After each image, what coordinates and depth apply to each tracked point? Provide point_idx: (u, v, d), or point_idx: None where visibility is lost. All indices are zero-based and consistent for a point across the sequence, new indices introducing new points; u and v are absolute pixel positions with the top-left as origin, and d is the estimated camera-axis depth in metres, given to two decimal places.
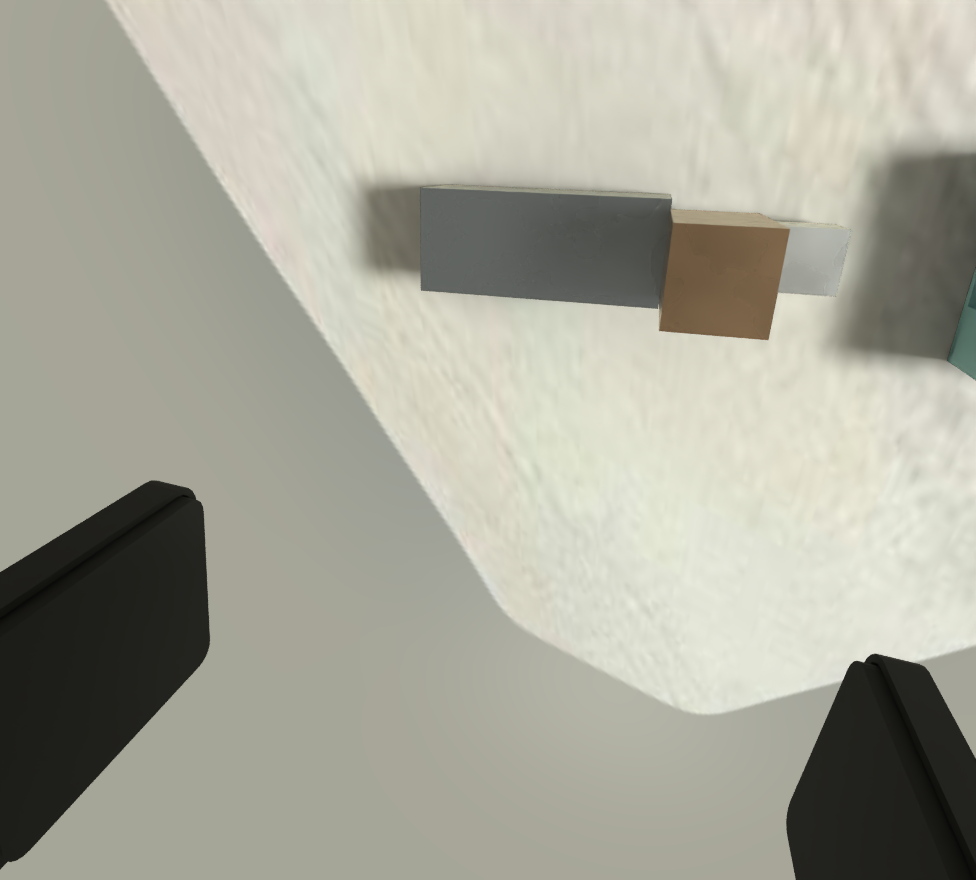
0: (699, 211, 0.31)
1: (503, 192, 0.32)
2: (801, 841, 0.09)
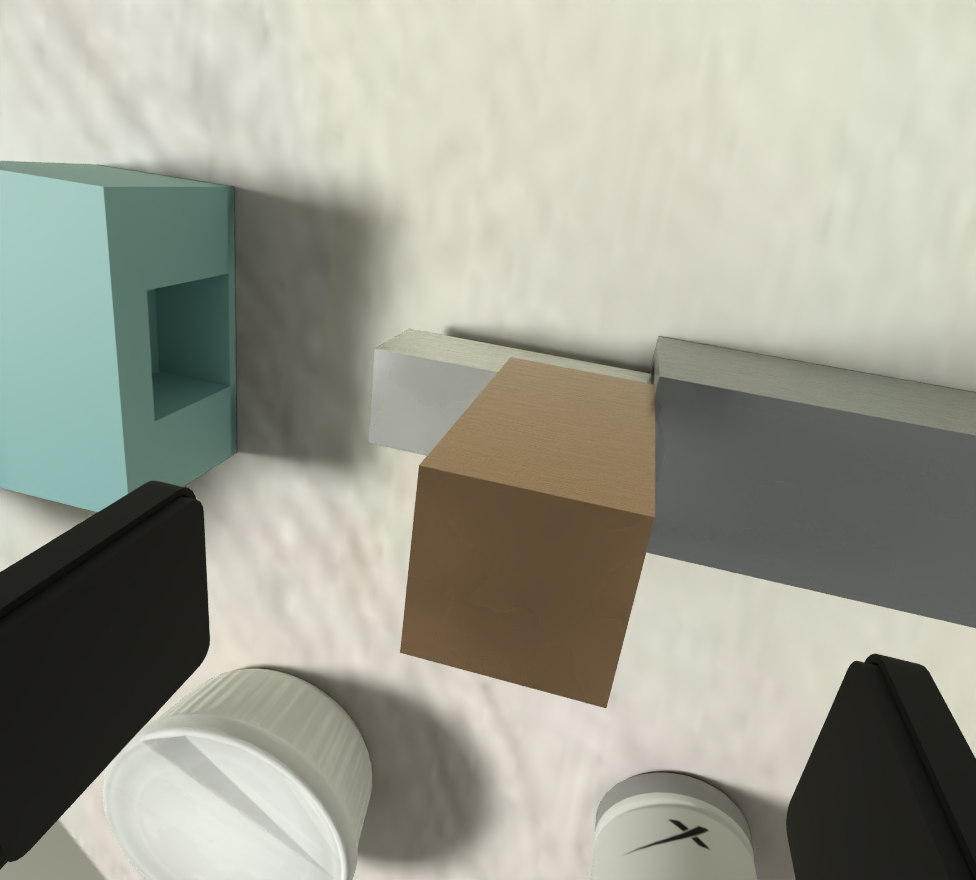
0: None
1: (918, 612, 0.18)
2: (801, 841, 0.09)
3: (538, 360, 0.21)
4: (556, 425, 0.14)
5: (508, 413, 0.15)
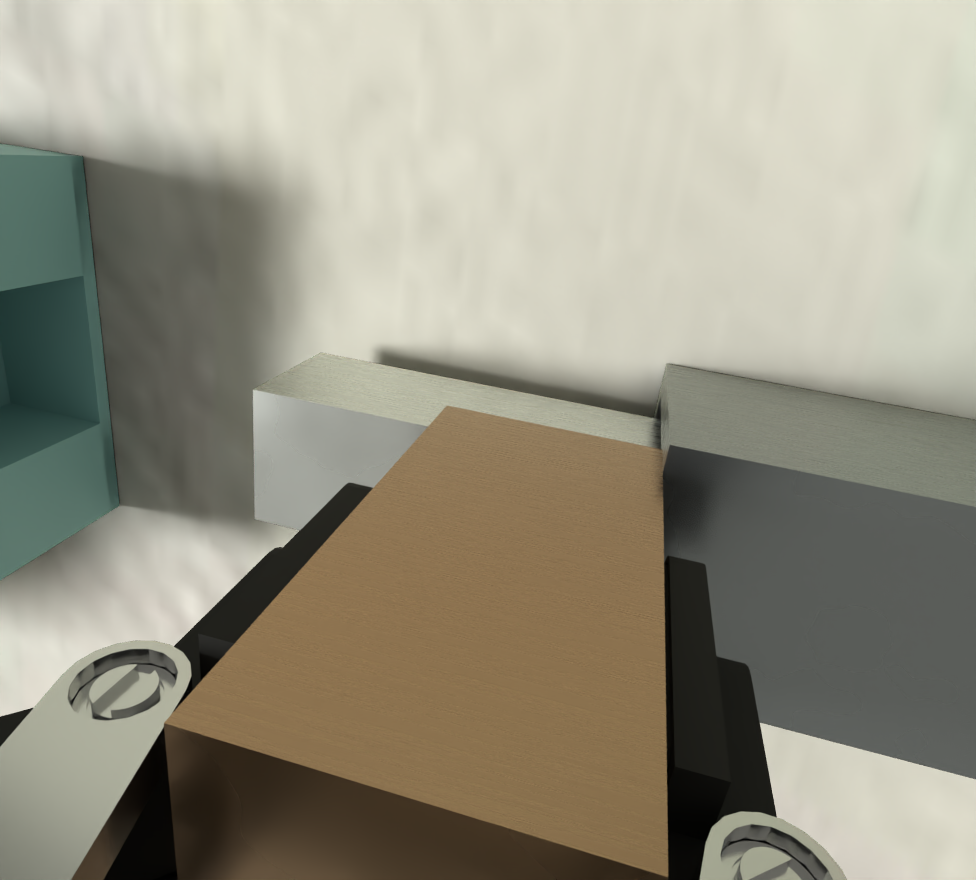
0: None
1: None
2: None
3: (495, 401, 0.15)
4: (491, 561, 0.08)
5: (410, 535, 0.08)
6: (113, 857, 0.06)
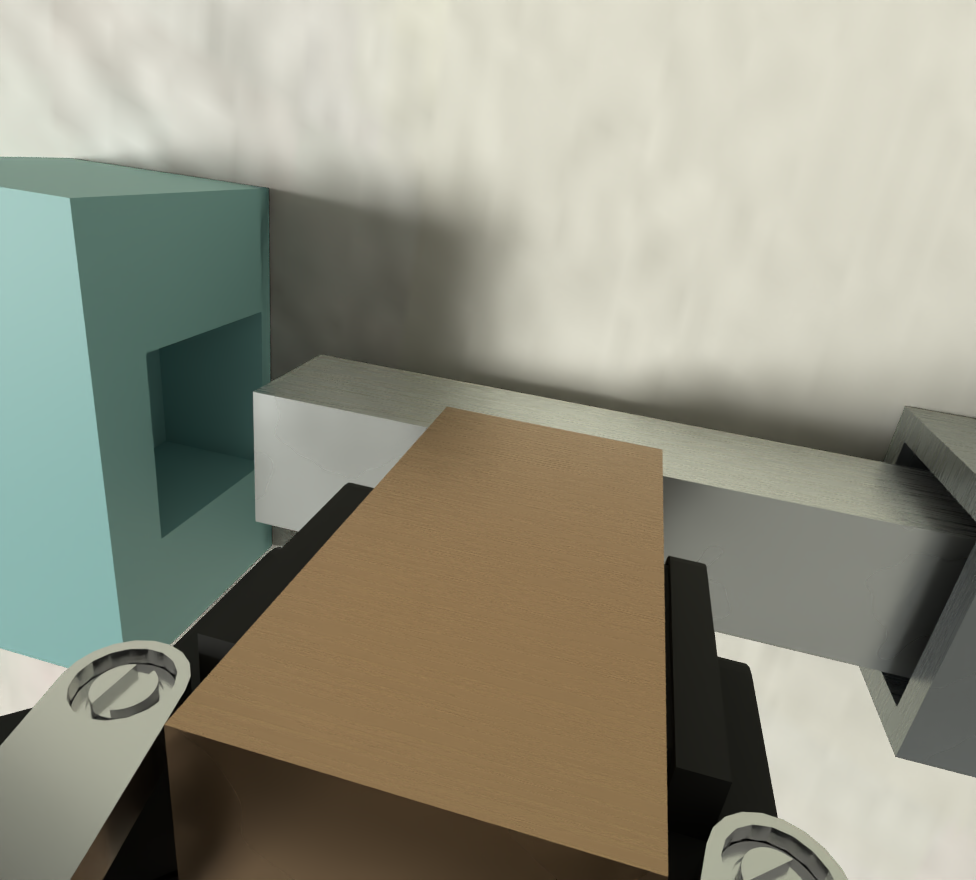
0: None
1: None
2: None
3: (495, 402, 0.15)
4: (491, 561, 0.08)
5: (410, 536, 0.08)
6: (112, 857, 0.06)
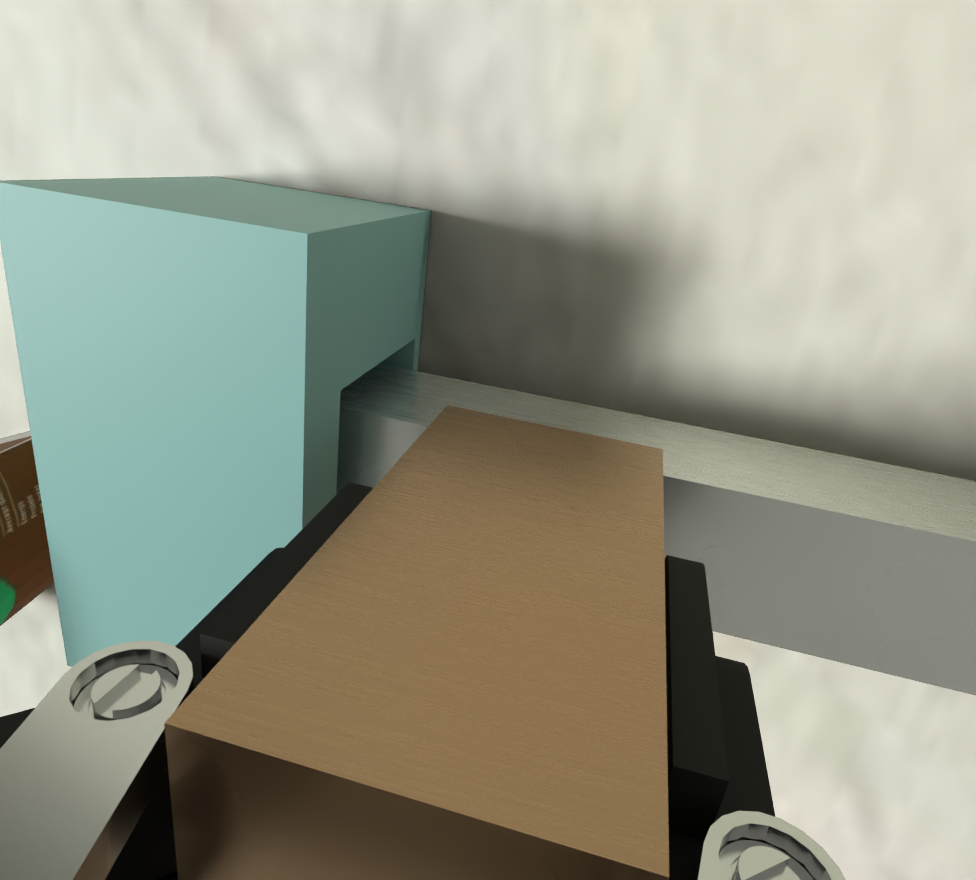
0: None
1: None
2: None
3: (496, 401, 0.15)
4: (492, 560, 0.08)
5: (411, 535, 0.08)
6: (114, 857, 0.06)
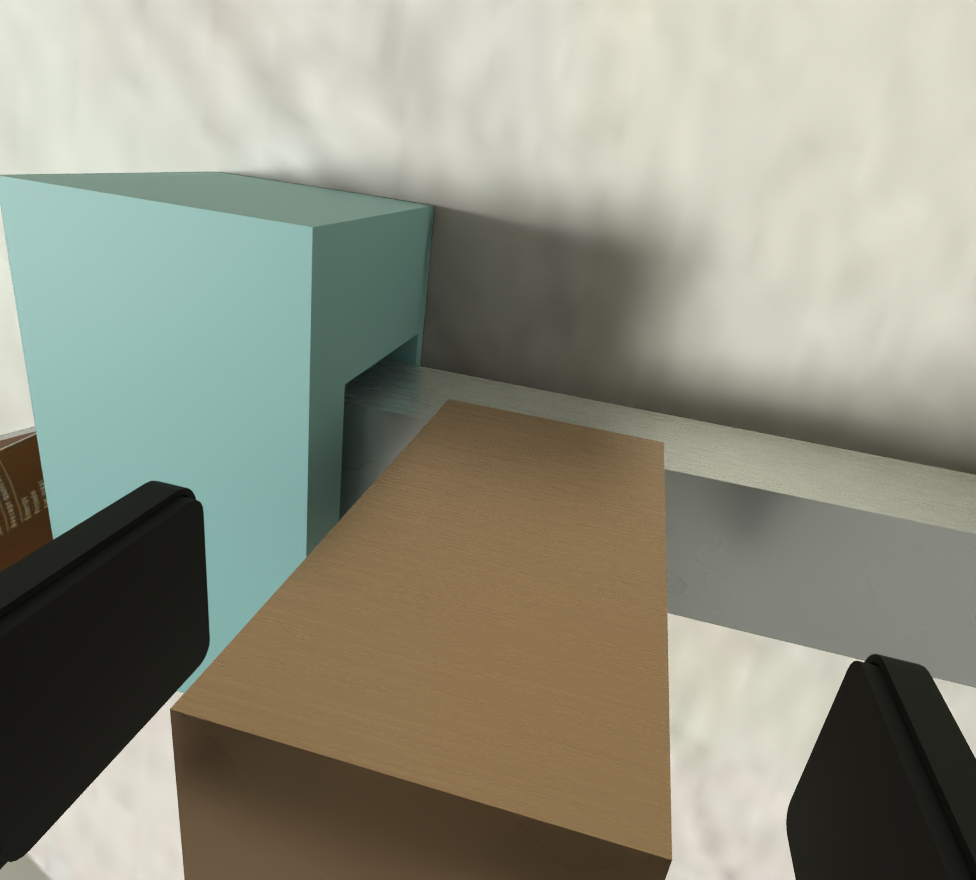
0: None
1: None
2: (801, 841, 0.09)
3: (497, 395, 0.15)
4: (493, 551, 0.08)
5: (414, 526, 0.08)
6: None
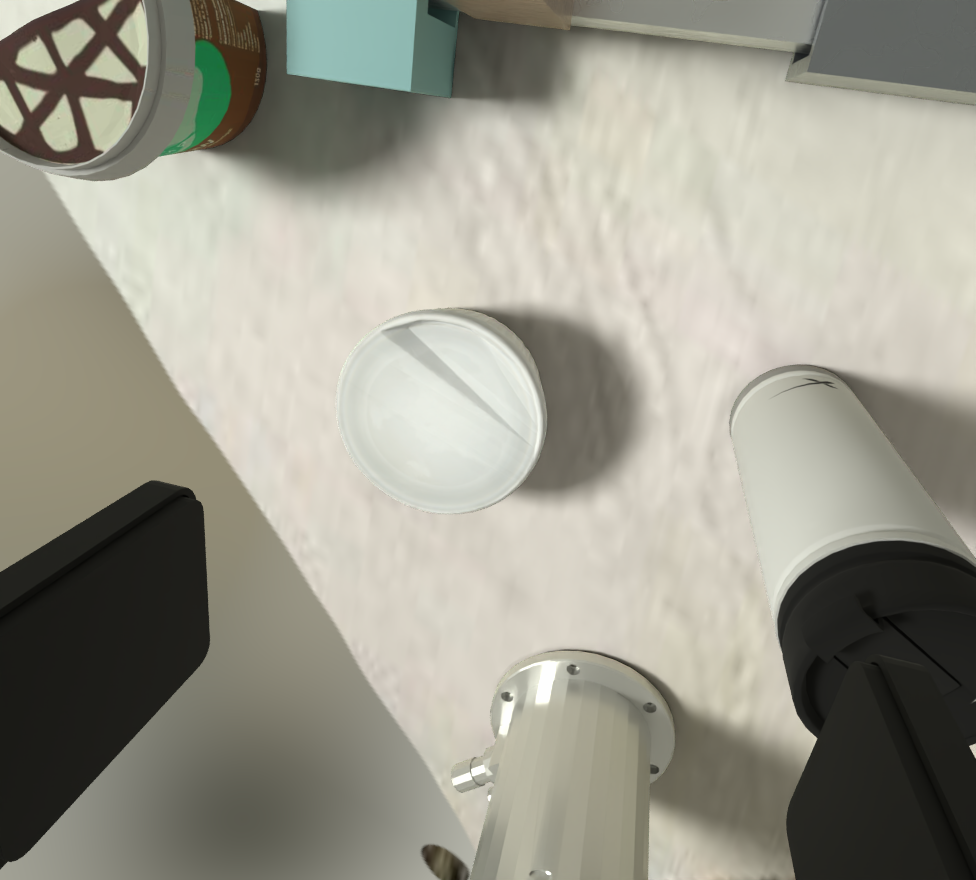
0: (535, 24, 0.27)
1: None
2: (801, 841, 0.09)
3: None
4: None
5: None
6: None
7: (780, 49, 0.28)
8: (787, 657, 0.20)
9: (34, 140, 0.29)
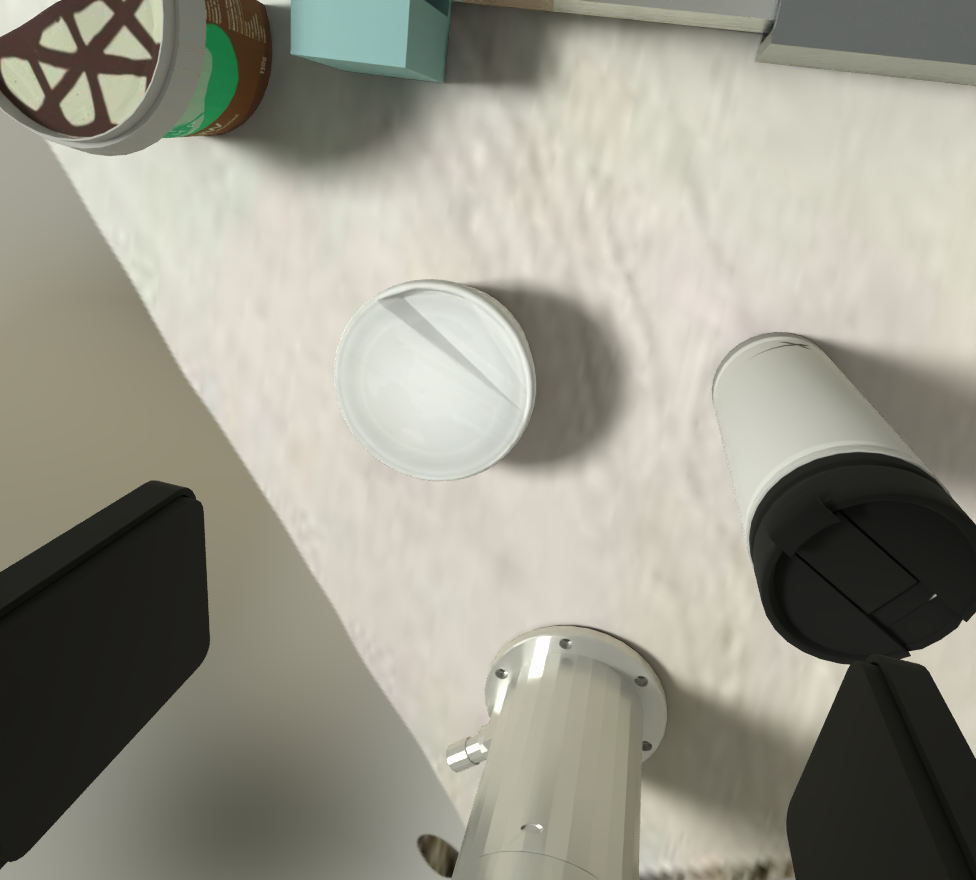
0: (521, 5, 0.29)
1: None
2: (801, 841, 0.09)
3: None
4: None
5: None
6: None
7: (748, 29, 0.30)
8: (756, 563, 0.21)
9: (54, 116, 0.31)
